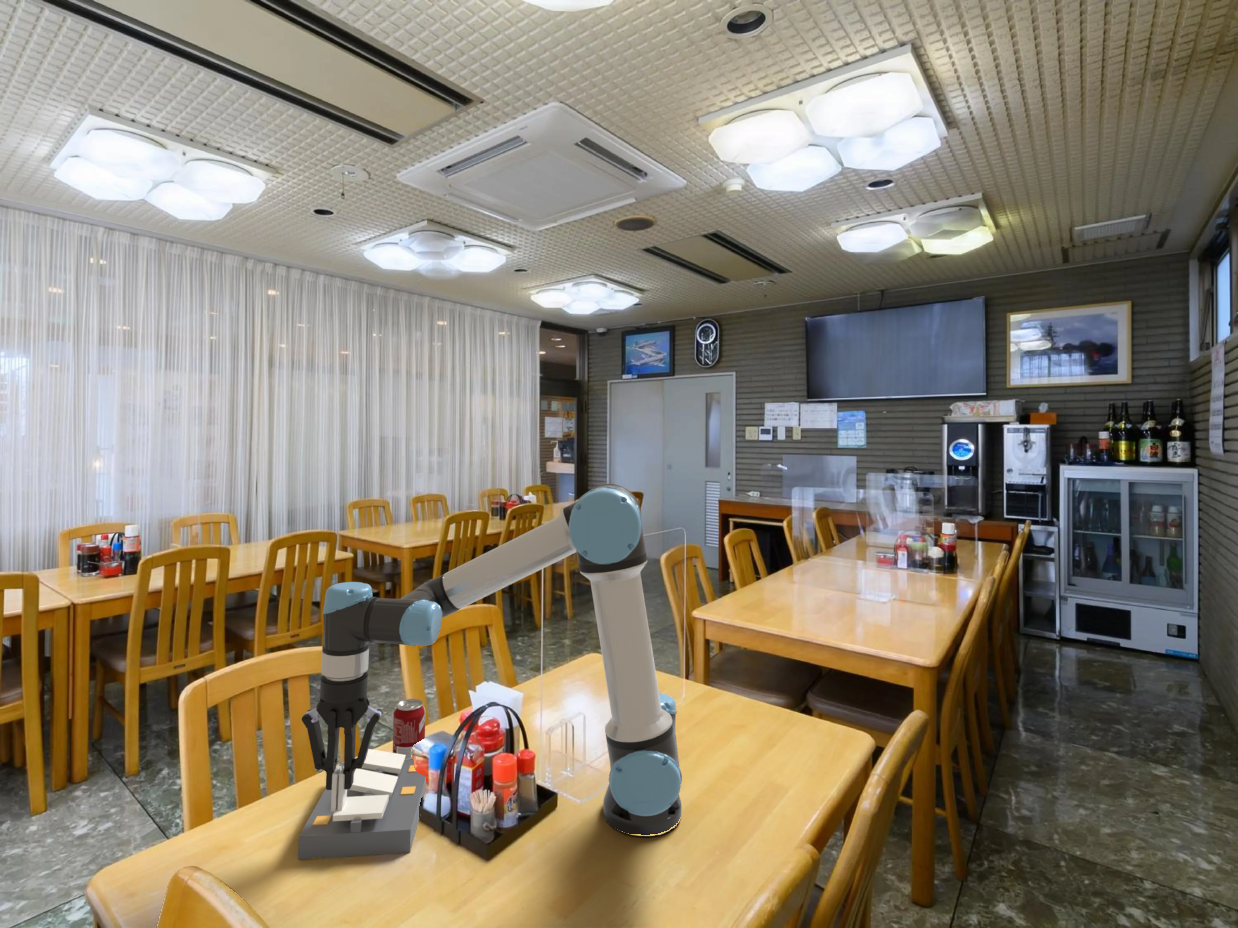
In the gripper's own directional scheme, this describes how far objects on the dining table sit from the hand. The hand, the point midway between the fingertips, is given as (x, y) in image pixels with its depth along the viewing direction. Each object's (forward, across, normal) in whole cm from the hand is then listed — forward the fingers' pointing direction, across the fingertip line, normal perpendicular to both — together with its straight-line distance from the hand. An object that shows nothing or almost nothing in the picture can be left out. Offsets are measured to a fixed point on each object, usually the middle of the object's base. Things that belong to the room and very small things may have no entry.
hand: (338, 805), depth 108 cm
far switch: (+1, -4, -16) cm, 16 cm away
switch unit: (+6, -4, -8) cm, 11 cm away
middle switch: (+1, -4, -8) cm, 9 cm away
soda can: (+7, -7, -29) cm, 31 cm away
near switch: (+1, -4, 0) cm, 4 cm away
